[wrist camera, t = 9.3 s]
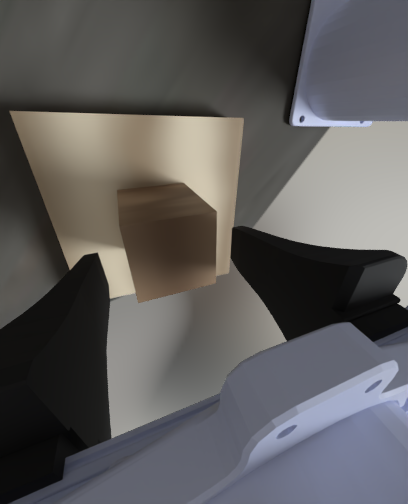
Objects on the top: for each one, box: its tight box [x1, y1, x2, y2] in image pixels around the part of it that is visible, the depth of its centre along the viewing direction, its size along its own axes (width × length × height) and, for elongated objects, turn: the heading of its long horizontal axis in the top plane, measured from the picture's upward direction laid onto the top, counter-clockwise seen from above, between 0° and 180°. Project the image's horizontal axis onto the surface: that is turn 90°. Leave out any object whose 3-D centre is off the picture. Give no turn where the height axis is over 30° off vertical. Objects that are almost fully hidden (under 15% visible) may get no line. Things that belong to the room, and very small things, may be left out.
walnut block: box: [117, 183, 217, 303], centre depth 13 cm, size 4×4×6 cm
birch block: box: [10, 111, 244, 298], centre depth 17 cm, size 13×13×3 cm
